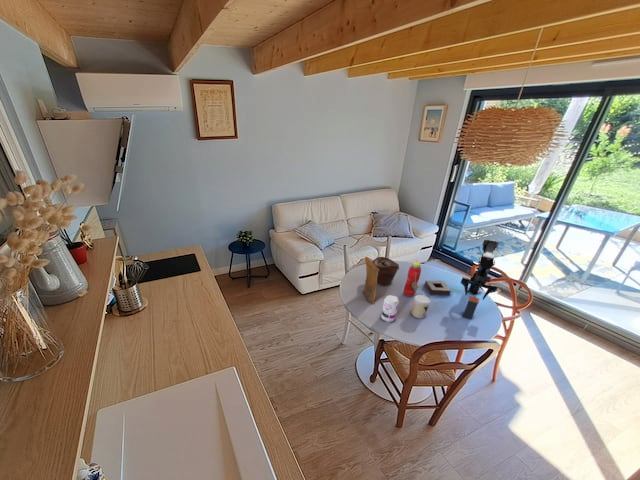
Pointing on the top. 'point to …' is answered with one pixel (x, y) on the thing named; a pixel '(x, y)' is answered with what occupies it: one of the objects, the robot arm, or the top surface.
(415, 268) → the water bottle
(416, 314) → the coffee cup
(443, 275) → the top surface
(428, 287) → the base pad
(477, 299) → the pad post
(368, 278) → the pancake mix bag
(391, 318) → the supplement can
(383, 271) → the brown flower pot
